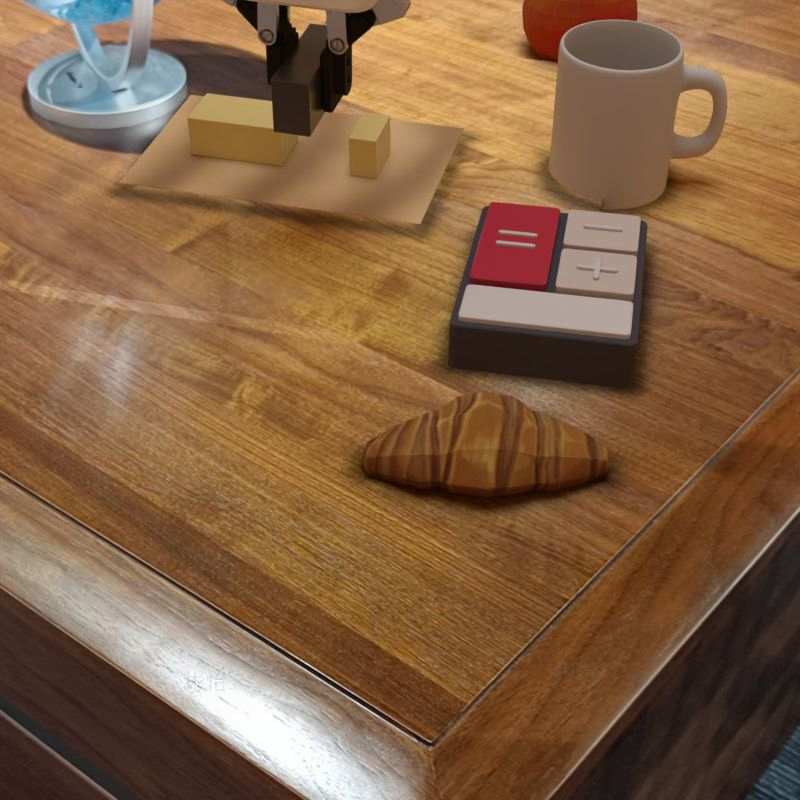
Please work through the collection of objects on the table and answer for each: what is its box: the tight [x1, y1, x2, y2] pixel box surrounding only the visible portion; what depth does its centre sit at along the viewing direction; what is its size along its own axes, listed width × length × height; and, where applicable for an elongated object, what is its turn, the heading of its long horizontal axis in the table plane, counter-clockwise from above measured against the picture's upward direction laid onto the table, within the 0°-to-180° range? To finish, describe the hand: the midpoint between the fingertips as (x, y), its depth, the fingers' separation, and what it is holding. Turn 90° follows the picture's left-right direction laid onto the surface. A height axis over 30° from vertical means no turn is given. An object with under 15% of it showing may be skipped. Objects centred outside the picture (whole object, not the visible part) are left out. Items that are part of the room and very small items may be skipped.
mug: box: [548, 20, 728, 210], centre depth 95 cm, size 12×8×11 cm
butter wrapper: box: [119, 94, 465, 225], centre depth 99 cm, size 22×14×2 cm, turn 76°
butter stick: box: [187, 92, 298, 166], centre depth 99 cm, size 7×4×3 cm, turn 76°
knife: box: [270, 20, 354, 137], centre depth 89 cm, size 17×2×4 cm, turn 166°
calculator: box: [447, 201, 648, 389], centre depth 85 cm, size 11×4×15 cm
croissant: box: [360, 390, 611, 500], centre depth 73 cm, size 14×7×5 cm, turn 89°
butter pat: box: [349, 111, 391, 179], centre depth 97 cm, size 2×4×3 cm, turn 166°
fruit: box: [521, 0, 639, 63], centre depth 111 cm, size 10×10×10 cm
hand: (310, 97), depth 86 cm, fingers closed on knife, 2 cm apart
